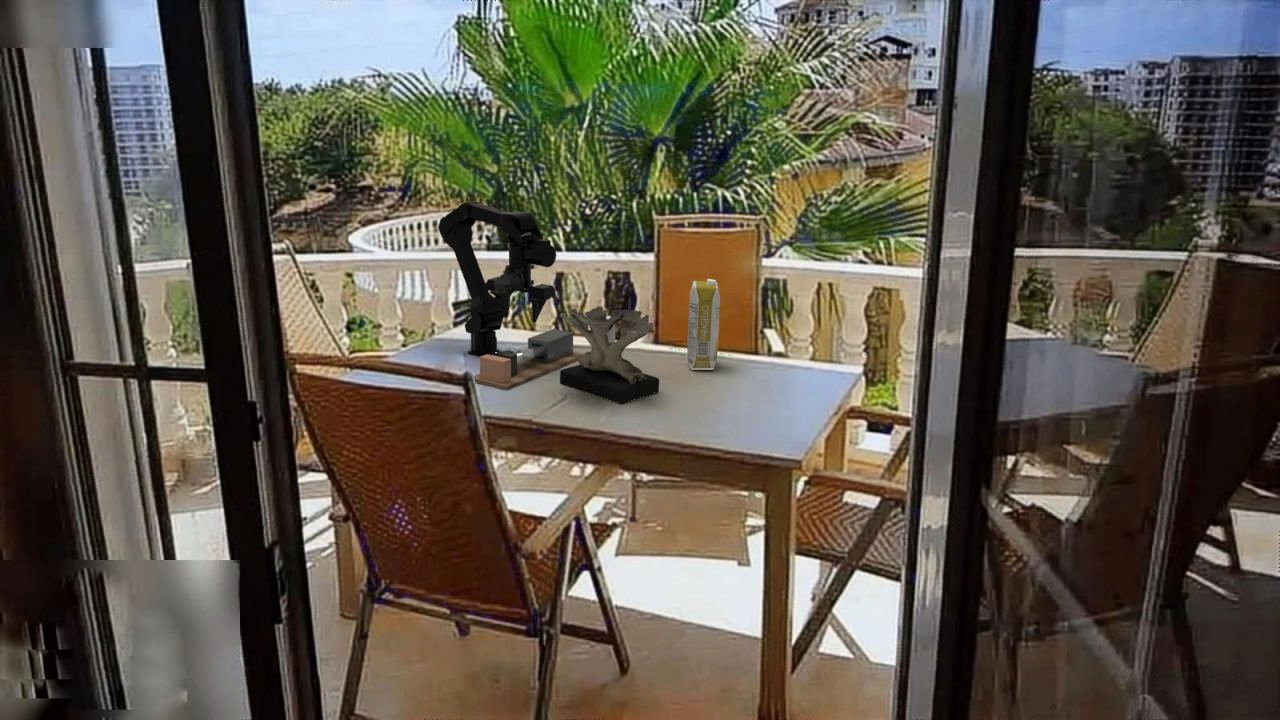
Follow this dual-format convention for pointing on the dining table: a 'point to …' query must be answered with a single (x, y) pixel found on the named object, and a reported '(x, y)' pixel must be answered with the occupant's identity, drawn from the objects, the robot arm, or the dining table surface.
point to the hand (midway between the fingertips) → (520, 319)
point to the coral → (609, 356)
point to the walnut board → (529, 372)
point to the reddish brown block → (495, 368)
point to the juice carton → (703, 324)
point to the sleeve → (553, 345)
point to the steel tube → (522, 356)
